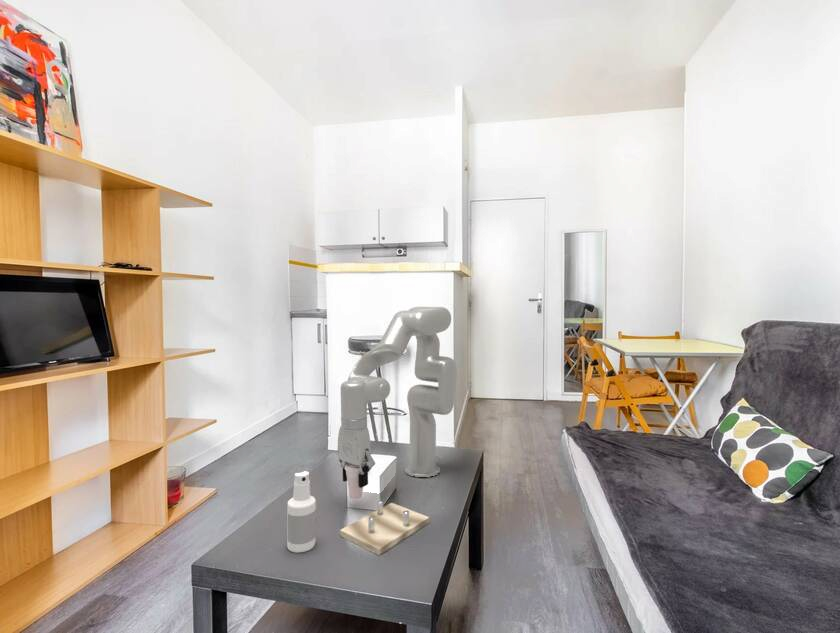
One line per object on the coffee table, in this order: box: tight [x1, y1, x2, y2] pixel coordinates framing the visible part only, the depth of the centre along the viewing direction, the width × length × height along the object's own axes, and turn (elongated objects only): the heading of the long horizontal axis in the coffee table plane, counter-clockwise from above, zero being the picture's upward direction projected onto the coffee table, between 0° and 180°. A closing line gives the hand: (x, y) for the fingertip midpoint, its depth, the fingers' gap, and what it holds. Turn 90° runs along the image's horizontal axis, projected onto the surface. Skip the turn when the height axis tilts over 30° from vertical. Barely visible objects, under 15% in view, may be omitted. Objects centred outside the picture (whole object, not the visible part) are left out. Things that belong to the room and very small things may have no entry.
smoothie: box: [345, 463, 365, 500], centre depth 124 cm, size 6×6×14 cm
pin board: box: [339, 500, 430, 556], centre depth 112 cm, size 20×14×5 cm
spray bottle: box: [286, 470, 317, 554], centre depth 104 cm, size 7×7×18 cm
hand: (355, 482), depth 124 cm, fingers closed on smoothie, 6 cm apart
